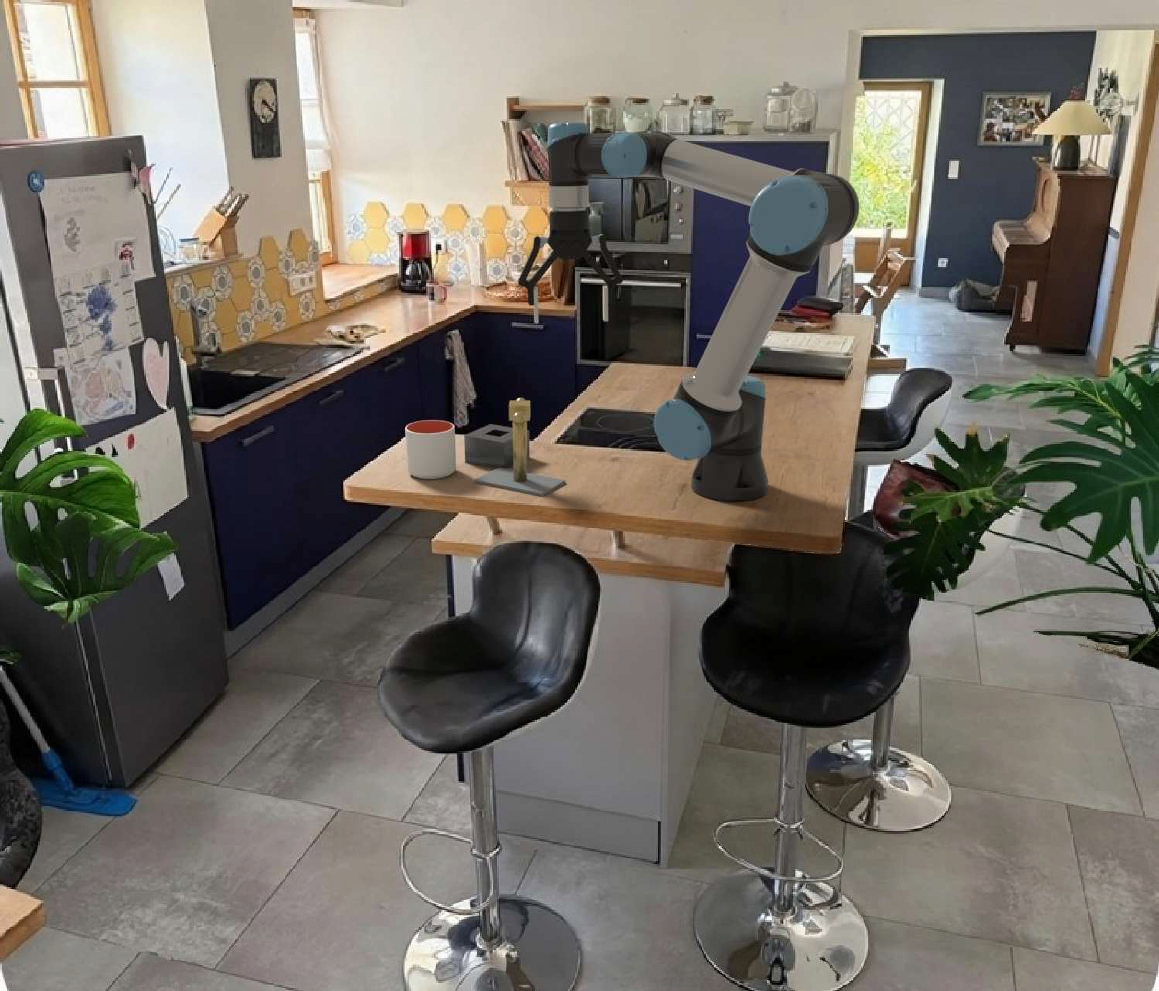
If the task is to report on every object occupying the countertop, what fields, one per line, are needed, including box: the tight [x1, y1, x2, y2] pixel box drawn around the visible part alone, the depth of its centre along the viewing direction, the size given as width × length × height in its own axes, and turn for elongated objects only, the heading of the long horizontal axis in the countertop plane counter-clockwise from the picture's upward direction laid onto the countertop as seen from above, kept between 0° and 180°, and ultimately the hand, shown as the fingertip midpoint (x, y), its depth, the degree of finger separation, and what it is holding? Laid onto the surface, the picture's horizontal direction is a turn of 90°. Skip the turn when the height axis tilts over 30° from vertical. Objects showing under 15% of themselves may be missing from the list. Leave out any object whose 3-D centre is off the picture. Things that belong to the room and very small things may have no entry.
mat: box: [474, 467, 566, 497], centre depth 206 cm, size 16×9×1 cm, turn 61°
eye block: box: [463, 423, 530, 469], centre depth 219 cm, size 10×10×6 cm
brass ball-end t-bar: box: [508, 397, 531, 482], centre depth 203 cm, size 13×4×16 cm, turn 1°
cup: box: [404, 419, 457, 480], centre depth 210 cm, size 10×10×10 cm
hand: (571, 321), depth 200 cm, fingers open, 13 cm apart
